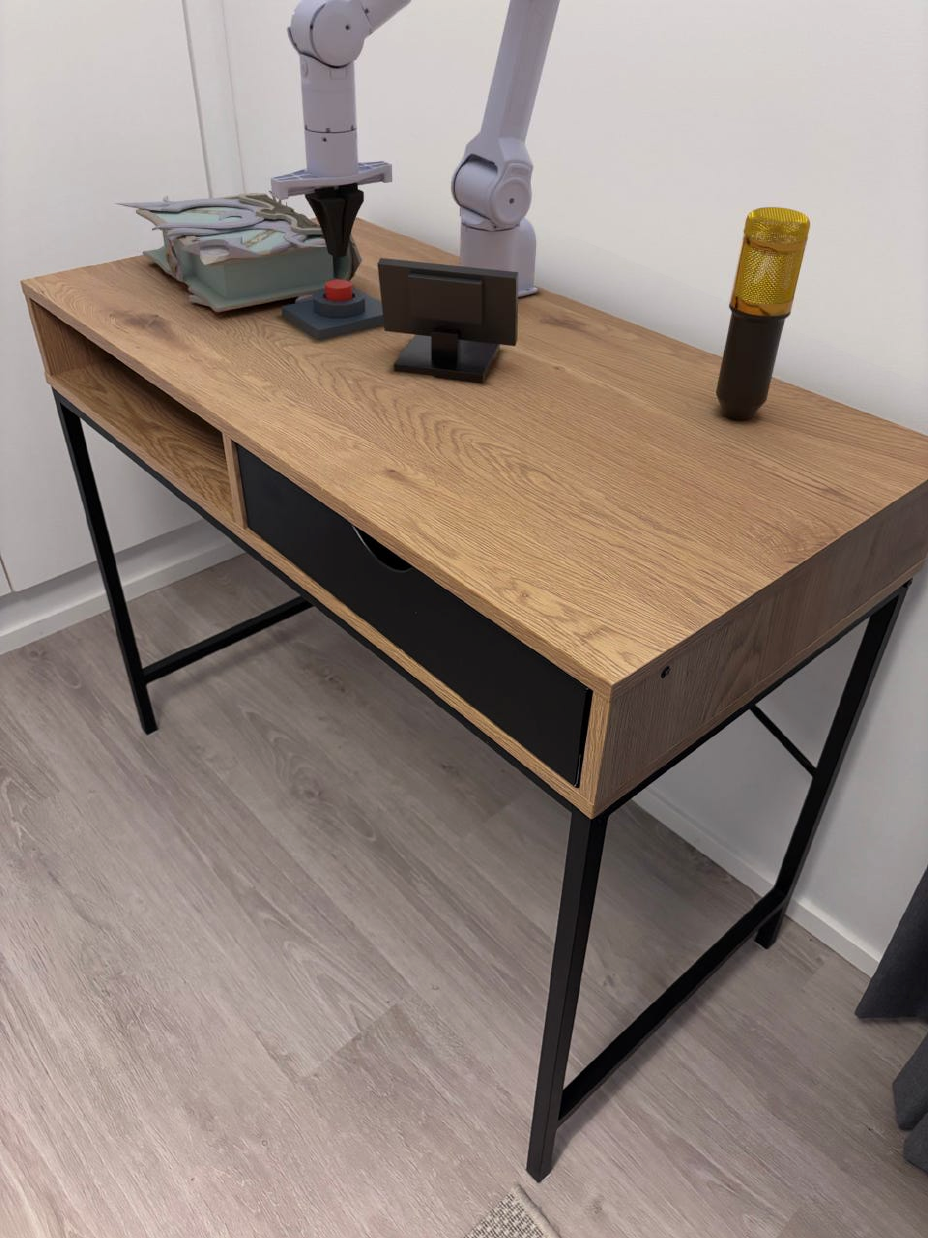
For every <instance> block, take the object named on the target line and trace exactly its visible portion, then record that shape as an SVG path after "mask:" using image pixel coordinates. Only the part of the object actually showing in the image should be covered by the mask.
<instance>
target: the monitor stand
mask: <svg viewBox="0 0 928 1238" xmlns="http://www.w3.org/2000/svg"><path fill="white" fill-rule="evenodd" d="M500 351H501V345H500V344H491V343H482V342H474V341H465V340H461V330H455V329H446V328H437V327H434V329H433V330H432V332H431V336H422V335H413V337H412V338H411V340H410V341H409V343H408V344H407V345H406V346H405V348H404V349H403V351H402V352H401V353H400V355H399V356H398V357H397V359H396V360H395V362H394V363H393V372H398V373H404V374H413V375H421V376H429V377H430V376H431V377H434V378H437V379H439V378H440V379H447V380H455V381H463V382H471V383H479V384H480V383H481V384H484V382H485V380H486V378H487V376H488V374H489V372H490V370H491V368H492V367H493V365H494V363H495V361H496V358H497V357H498V355H499V353H500Z"/></svg>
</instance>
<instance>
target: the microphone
mask: <svg viewBox="0 0 928 1238" xmlns="http://www.w3.org/2000/svg"><path fill="white" fill-rule="evenodd" d="M810 229H811V220H810V218H809V217H808V215H806V214H805V213H803V212H801V211H798V210H796V209H791V208H787V207H781V206H780V207H779V206H778V207H777V206H764V207H758V208H755V209H753V210H751V211H750V212H749V213H748V214H747V216H746V219H745V224H744V229H743V231H742V236H741V241H740V247H739V252H738V257H737V263H736V267H735V272H734V278H733V282H732V283H733V284H732V288H731V293H730V298H729V303H728V309H729V310H730V311H731V313H730V318H729V324H728V329H727V334H726V339H725V344H724V349H723V353H722V359H721V365H720V370H719V373H718V374H719V375H718V380H717V384H716V391H715V395H716V398H717V400H718V403H719V405H720V408H721V410H722V413H723V415H724V416H725V417H727V418H729V419H731V420H734V421H747V420H749V419H750V418H751V417H753V415H755V413H756V412H758V410H759V409H760V408H761V407H762V406H763V405H764V404H766V402H767V399H768V396H769V391H770V386H771V383H772V378H773V373H774V369H775V365H776V360H777V356H778V351H779V347H780V343H781V340H782V339H781V338H782V335H783V330H784V325H785V321H786V319H787V318H788V317H790V315H791V313H792V309H793V305H794V300H795V294H796V290H797V286H798V280H799V276H800V272H801V269H802V263H803V260H804V256H805V252H806V251H805V250H806V247H807V244H808V239H809V233H810Z"/></svg>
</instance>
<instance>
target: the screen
mask: <svg viewBox="0 0 928 1238" xmlns="http://www.w3.org/2000/svg"><path fill="white" fill-rule="evenodd" d="M376 264H377V265H376V266H377V273H378V283H379V291H380V292H379V293H380V300H381V301H380V302H381V303H382V312H383V321H384V325H383V330H384V332H387V333H388V332H390V333H398V334H406V335H413V336H415V335H422V336H431V332H432V330H433V329H434V327H437V328H446V329H455V330H461V340H465V341H474V342H482V343H491V344H500V346H509V347H516V345H517V343H518V338H519V337H518V333H519V331H518V330H519V327H518V326H519V297H518V272H512V271H502V270H492V269H483V268H473V267H464V266H460V265H453V264H443V263H434V262H425V261H414V260H405V259H395V258H385V257H380V258H379V259H378V261H377V263H376Z"/></svg>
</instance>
